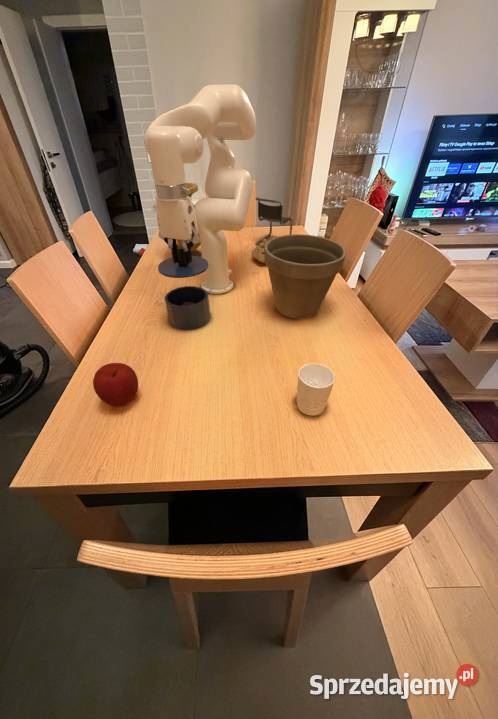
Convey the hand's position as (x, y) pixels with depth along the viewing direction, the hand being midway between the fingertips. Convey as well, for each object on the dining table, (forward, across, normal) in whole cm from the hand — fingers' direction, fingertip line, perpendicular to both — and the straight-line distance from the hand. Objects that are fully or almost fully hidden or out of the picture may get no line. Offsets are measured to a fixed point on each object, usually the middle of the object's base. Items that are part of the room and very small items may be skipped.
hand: (182, 261), depth 87 cm
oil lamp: (+21, -5, -56) cm, 60 cm away
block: (+20, +1, -1) cm, 20 cm away
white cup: (+20, -46, +21) cm, 54 cm away
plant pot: (+21, -31, -21) cm, 42 cm away
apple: (+20, -2, +37) cm, 42 cm away
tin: (+20, +1, -1) cm, 20 cm away
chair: (+21, -1, -81) cm, 84 cm away
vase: (+21, +29, -45) cm, 58 cm away
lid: (+2, 0, 0) cm, 2 cm away
